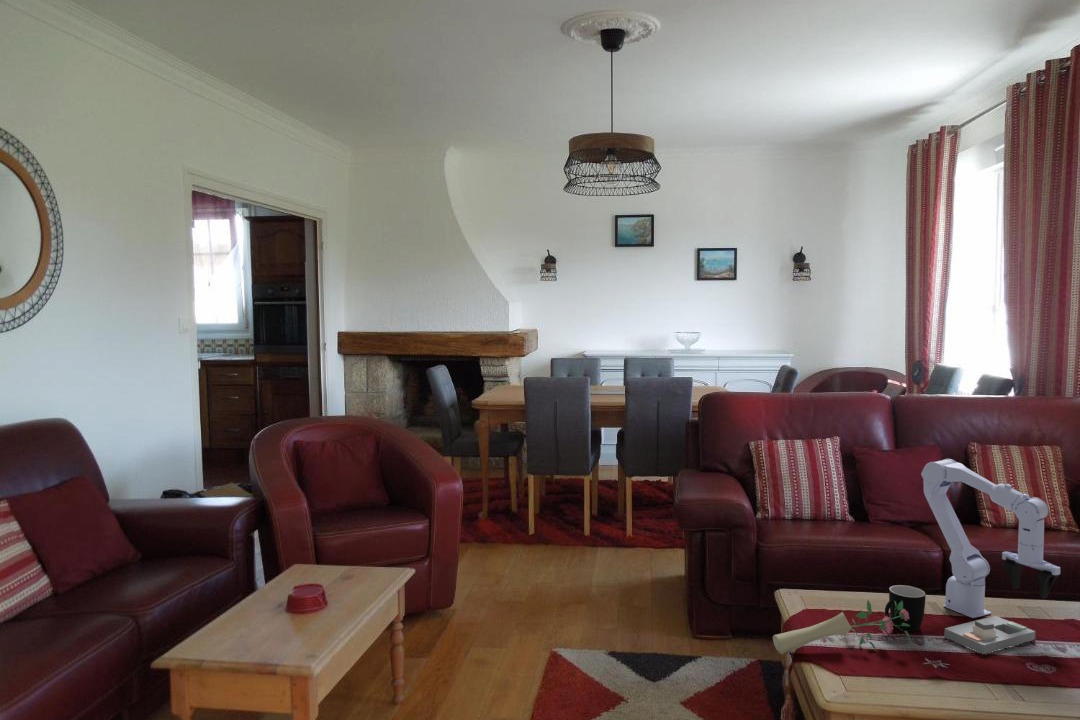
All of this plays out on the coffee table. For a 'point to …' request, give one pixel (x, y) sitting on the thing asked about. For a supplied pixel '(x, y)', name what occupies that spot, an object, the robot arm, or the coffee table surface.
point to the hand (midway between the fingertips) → (1029, 592)
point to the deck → (1002, 639)
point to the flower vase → (834, 630)
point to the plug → (984, 629)
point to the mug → (906, 606)
